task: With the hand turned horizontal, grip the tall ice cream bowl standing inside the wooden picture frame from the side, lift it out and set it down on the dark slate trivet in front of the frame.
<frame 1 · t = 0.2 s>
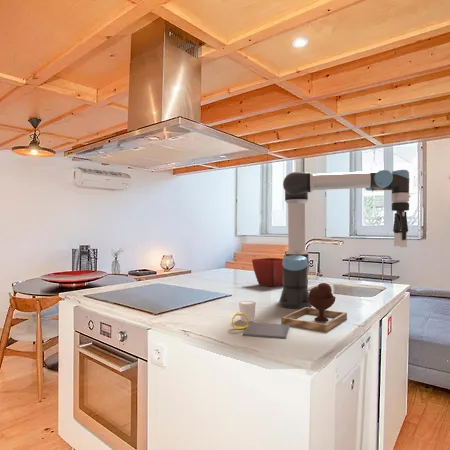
hand: (400, 246, 164), 27 cm above the worktop, tool pointing down, fingers open, 13 cm apart
white cup: (247, 320, 140), on the worktop
wooden picture frame: (315, 321, 136), on the worktop
ice cream bowl: (321, 320, 138), resting in wooden picture frame
watch: (240, 329, 127), on the worktop, touching slate trivet
slate trivet: (267, 330, 124), on the worktop
plant pot: (272, 285, 225), on the worktop
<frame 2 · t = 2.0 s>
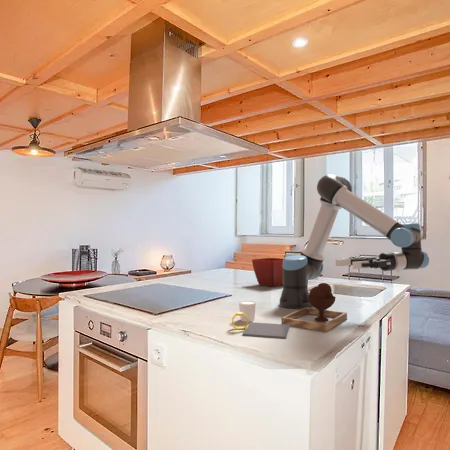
hand: (344, 264, 140), 22 cm above the worktop, tool horizontal, fingers open, 13 cm apart
nothing on the worktop moved.
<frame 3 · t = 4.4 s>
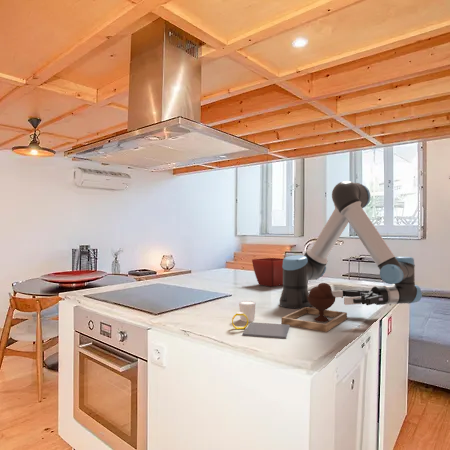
hand: (335, 297, 138), 9 cm above the worktop, tool horizontal, fingers open, 13 cm apart
nothing on the worktop moved.
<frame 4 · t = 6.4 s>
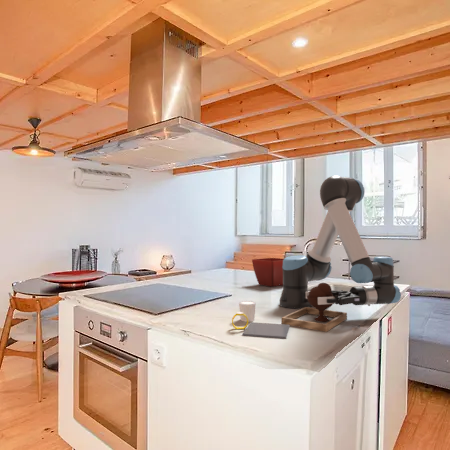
hand: (311, 298, 137), 9 cm above the worktop, tool horizontal, fingers closed on ice cream bowl, 11 cm apart
ice cream bowl: (321, 320, 138), resting in wooden picture frame, touching gripper
everything else where it was.
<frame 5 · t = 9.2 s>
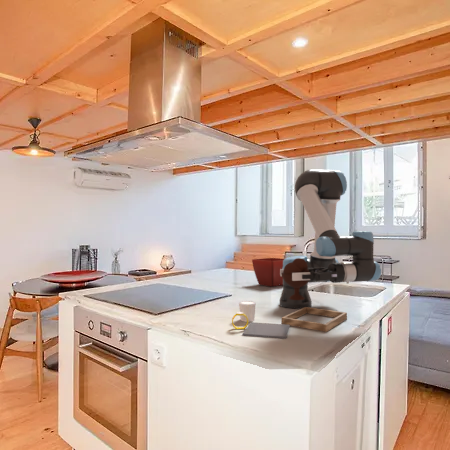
hand: (286, 274, 126), 20 cm above the worktop, tool horizontal, fingers closed on ice cream bowl, 11 cm apart
ice cream bowl: (296, 299, 127), point 11 cm above the worktop, touching gripper
everything else where it was.
when the fingers open (11 cm above the worktop, at t = 12.3 s): ice cream bowl stays where it is, resting on slate trivet.
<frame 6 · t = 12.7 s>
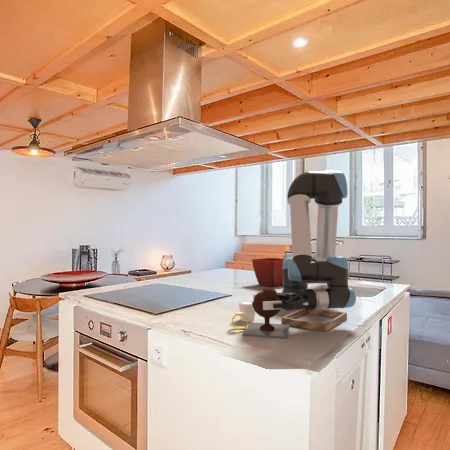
hand: (257, 301, 124), 11 cm above the worktop, tool horizontal, fingers open, 13 cm apart
ice cream bowl: (267, 329, 125), resting on slate trivet
everything else where it was.
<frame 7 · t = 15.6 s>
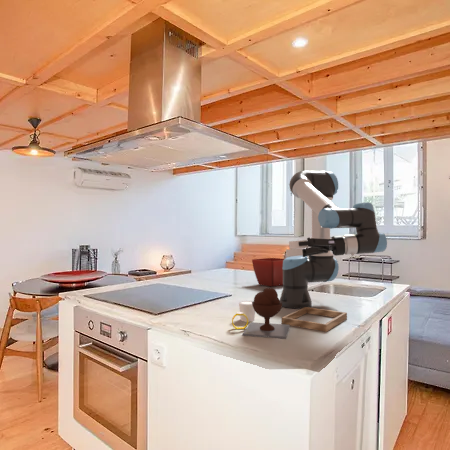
hand: (287, 249, 133), 29 cm above the worktop, tool horizontal, fingers open, 13 cm apart
nothing on the worktop moved.
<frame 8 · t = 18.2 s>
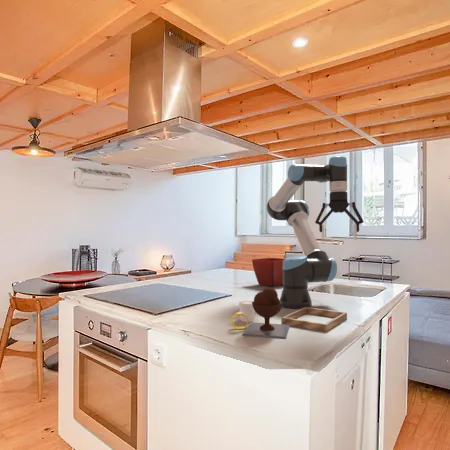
hand: (339, 239, 152), 32 cm above the worktop, tool pointing down, fingers open, 13 cm apart
nothing on the worktop moved.
at the end: ice cream bowl inside the target area on the slate trivet (0.3 cm from its centre), point 0.4 cm above the slate trivet's base; ice cream bowl tilted 0°; the gripper is holding nothing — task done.
